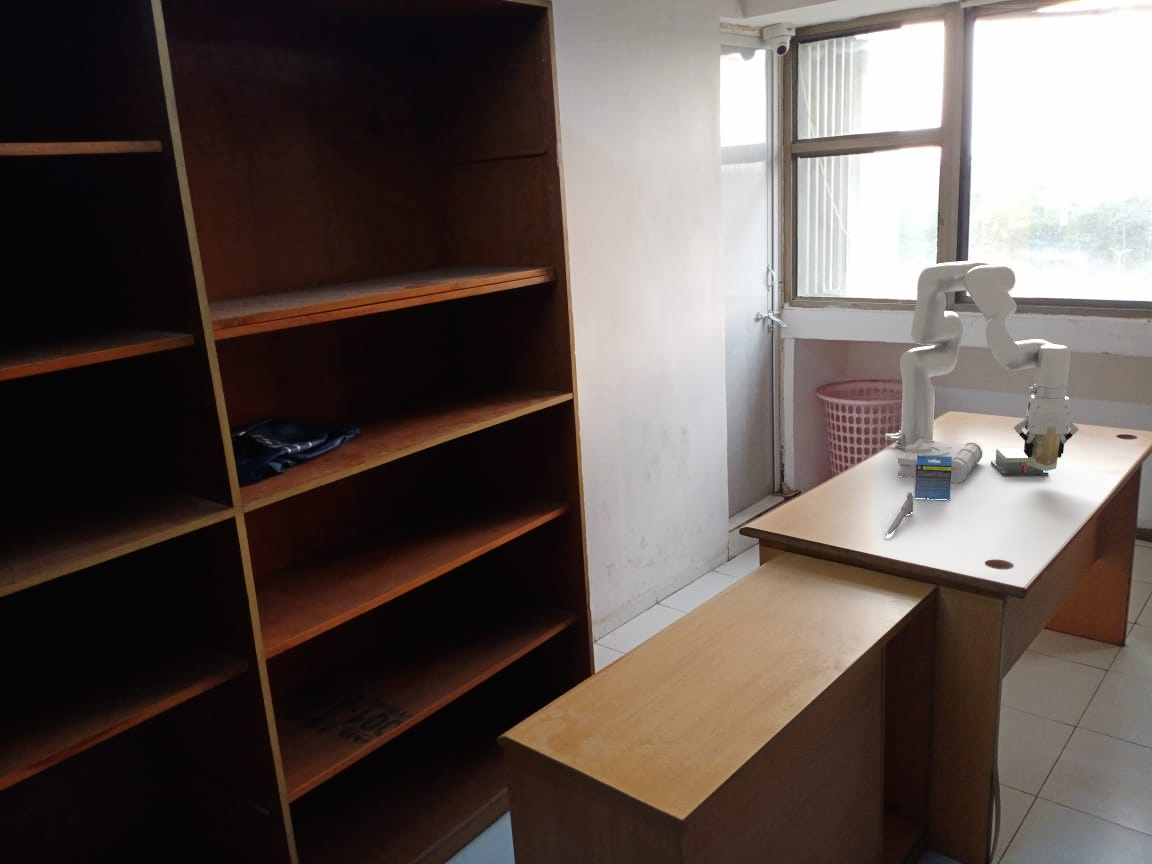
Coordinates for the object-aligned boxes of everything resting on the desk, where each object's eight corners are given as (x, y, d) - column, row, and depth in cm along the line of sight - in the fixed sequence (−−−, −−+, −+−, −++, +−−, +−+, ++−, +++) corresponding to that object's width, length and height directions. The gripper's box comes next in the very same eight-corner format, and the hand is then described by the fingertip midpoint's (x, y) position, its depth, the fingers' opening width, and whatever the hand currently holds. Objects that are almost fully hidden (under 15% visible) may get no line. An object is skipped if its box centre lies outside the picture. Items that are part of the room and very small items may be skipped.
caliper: (908, 514, 236) (909, 490, 235) (913, 514, 236) (914, 491, 234) (884, 540, 220) (885, 515, 218) (889, 540, 219) (889, 515, 218)
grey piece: (1002, 476, 261) (1003, 459, 259) (990, 463, 272) (991, 447, 271) (1048, 475, 259) (1049, 458, 257) (1034, 463, 270) (1035, 447, 269)
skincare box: (1025, 465, 252) (1030, 422, 249) (1037, 462, 254) (1041, 419, 251) (1046, 471, 247) (1051, 427, 243) (1057, 469, 248) (1062, 425, 245)
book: (986, 459, 277) (986, 435, 275) (964, 486, 255) (965, 459, 253) (919, 454, 288) (920, 430, 286) (893, 478, 266) (893, 453, 264)
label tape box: (949, 496, 247) (951, 452, 243) (950, 501, 243) (952, 456, 240) (914, 495, 249) (915, 451, 246) (914, 500, 245) (916, 455, 242)
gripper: (1019, 395, 242) (1013, 460, 247) (1090, 395, 240) (1082, 460, 245) (1010, 388, 249) (1004, 451, 254) (1080, 388, 247) (1072, 452, 252)
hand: (1043, 455), depth 249 cm, fingers closed on skincare box, 6 cm apart
